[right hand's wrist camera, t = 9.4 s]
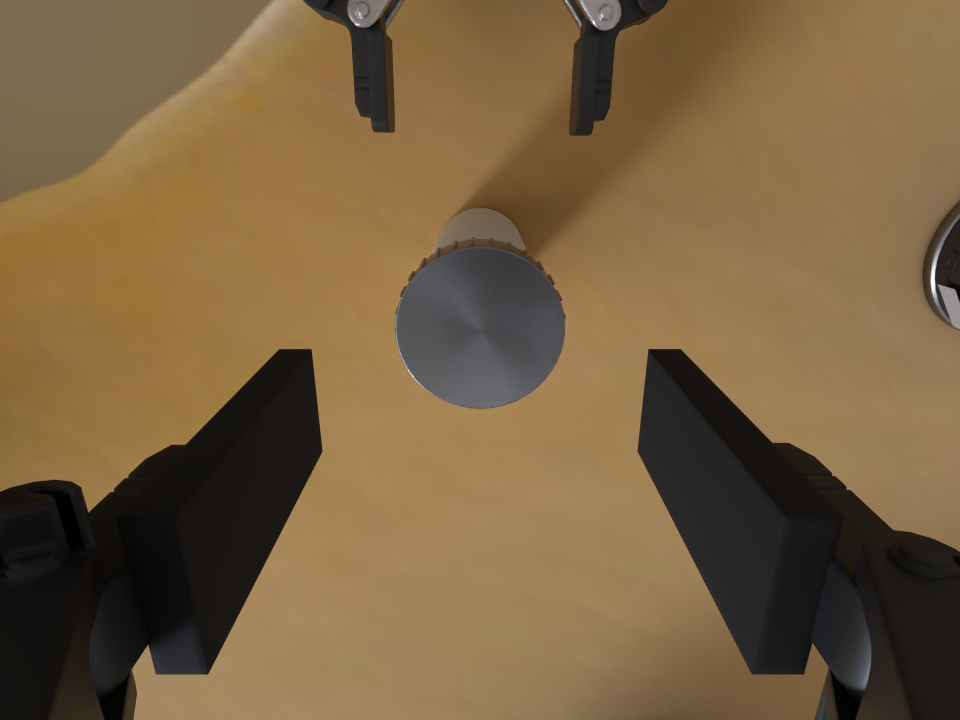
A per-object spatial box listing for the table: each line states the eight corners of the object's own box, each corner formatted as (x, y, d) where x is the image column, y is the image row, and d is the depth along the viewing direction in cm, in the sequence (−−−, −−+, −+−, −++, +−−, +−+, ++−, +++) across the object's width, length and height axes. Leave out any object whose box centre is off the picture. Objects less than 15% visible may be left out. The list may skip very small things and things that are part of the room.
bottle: (517, 201, 33) (546, 244, 19) (527, 287, 34) (559, 385, 20) (430, 214, 33) (394, 265, 19) (444, 298, 35) (420, 403, 21)
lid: (553, 225, 20) (559, 231, 18) (567, 381, 22) (574, 400, 20) (385, 248, 20) (377, 257, 18) (414, 401, 22) (409, 420, 20)
